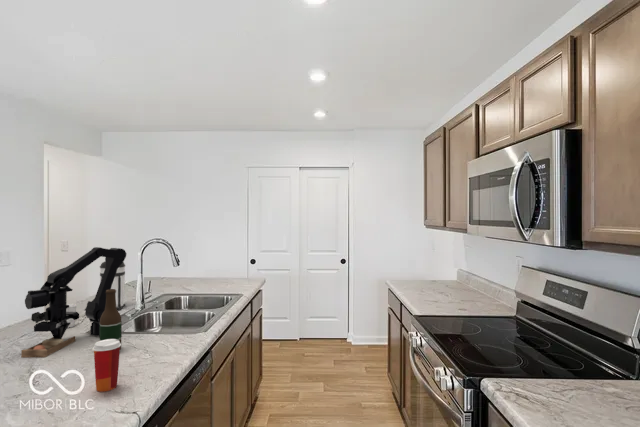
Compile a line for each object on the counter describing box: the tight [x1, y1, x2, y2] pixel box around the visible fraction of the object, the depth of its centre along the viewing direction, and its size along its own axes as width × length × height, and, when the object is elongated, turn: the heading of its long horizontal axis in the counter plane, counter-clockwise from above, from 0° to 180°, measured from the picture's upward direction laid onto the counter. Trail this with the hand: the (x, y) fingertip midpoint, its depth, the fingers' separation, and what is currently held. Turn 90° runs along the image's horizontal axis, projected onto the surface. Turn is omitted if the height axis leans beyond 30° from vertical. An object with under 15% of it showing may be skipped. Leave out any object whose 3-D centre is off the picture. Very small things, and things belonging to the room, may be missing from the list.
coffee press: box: [99, 261, 126, 312], centre depth 213 cm, size 17×16×30 cm
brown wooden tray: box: [20, 336, 76, 358], centre depth 146 cm, size 9×18×4 cm, turn 1°
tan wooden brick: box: [42, 338, 64, 349], centre depth 147 cm, size 6×2×3 cm, turn 94°
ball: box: [34, 345, 46, 349], centre depth 141 cm, size 4×4×4 cm
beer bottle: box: [98, 289, 123, 350], centre depth 147 cm, size 8×8×24 cm
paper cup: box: [91, 339, 122, 393], centre depth 115 cm, size 8×8×14 cm
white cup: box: [66, 303, 77, 329], centre depth 178 cm, size 8×8×10 cm
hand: (57, 342), depth 150 cm, fingers closed
